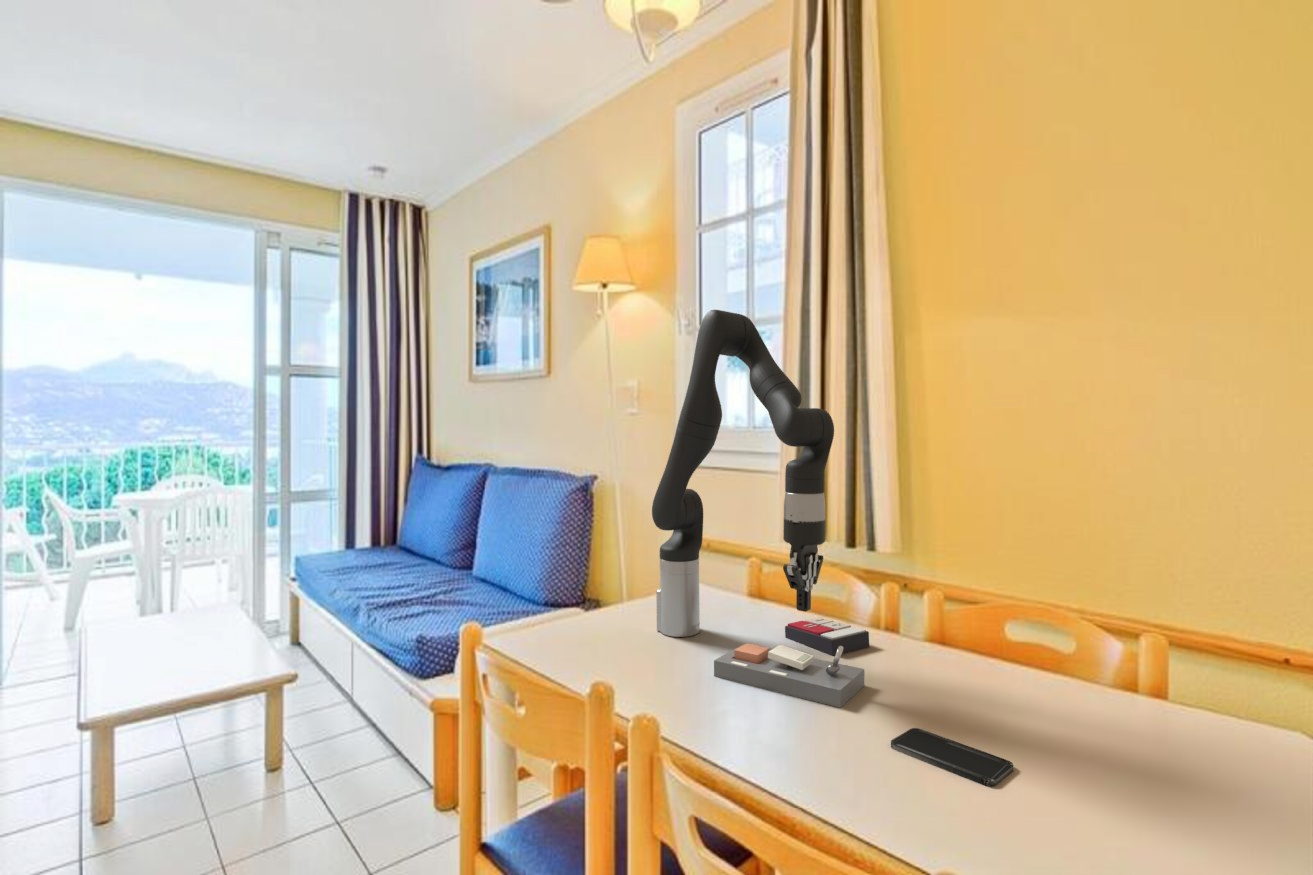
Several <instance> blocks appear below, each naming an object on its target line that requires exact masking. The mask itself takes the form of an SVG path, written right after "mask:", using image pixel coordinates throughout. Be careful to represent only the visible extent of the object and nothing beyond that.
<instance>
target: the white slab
mask: <svg viewBox="0 0 1313 875" xmlns="http://www.w3.org/2000/svg"><path fill="white" fill-rule="evenodd" d="M771 649H772V648H771ZM768 658H769V659H772V660H775V661H778V662H781V663H783V664H786V665H789V666H792V667H795V668H798V669H801V670H803V669H805V668H806V667H807V666H809V665H810V664H812V663H813V662H814V658H815V655H813V654H809V653H806V652H803V651H802V650H801V651H800V650H797V649H795V648H791V647H789V646H786V645H782V644H779V645H777V646H776V647H774V648H773V649H772V650H771V651H769V652H768Z"/></svg>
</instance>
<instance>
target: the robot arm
mask: <svg viewBox="0 0 1313 875" xmlns="http://www.w3.org/2000/svg"><path fill="white" fill-rule="evenodd" d="M701 320H702V321H701V323H700V326H699V329H698V333H697V338H696V344H695V349H694V356H693V361H692V365H691V366H692V367H691V372H690V376H689V381H688V385H687V389H686V394H685V397H684V401H683V404H682V407H681V411H680V414H679V417H678V421H677V424H676V429H675V434H674V438H673V442H672V445H671V449H670V452H669V455H668V458H667V461H666V464H665V468H664V470H663V474H662V476H661V479H660V481H659V484H658V486H657V489H656V492H655V495H654V497H653V501H652V507H651V515H652V521H653V523H654V525H655V526H656V528H658V529H659V530H661V531H672V534H671V536H670V537H669V539H668V540H666V541H665V542H664V543H662V544H661V546H660V548H659V589H657V590H656V597H655V598H656V631H657V632H660V633H661V634H662V635H664V636H669V637H674V638H675V637H677V638H679V637H680V638H685V637H691V636H695V635H697V634H699V633H700V624H701V622H700V551H701V548H702V545H703V536H704V535H703V532H704V505H703V501H702V499H701V496H700V495H699V493H698V492H697V491H696V490H694V489H693V488H688V485H689V482H690V480H691V478H692V476H693V475H694V473H695V472H696V470H697V469H698V467H699V466H700V465H701V464H702V462H703V461H704V460H705V459H706V457H707V456H708V455H709V454H710V452H711V451H712V450H713V448H714V445H715V443H716V442H717V441H716V440H717V438H718V434H719V430H720V428H721V423H722V420H723V410H722V405H721V400H720V397H719V393H718V390H717V385H716V371H717V365H718V361H719V359H720V356H727V357H736V358H737V359H739V360H740V361H742V362H743V363H744V364H745V365H746V366H747V368H748V369H749V384H750V388H751V390H752V391H753V394H754V395H755V396H756V398H757V399H758V400H759V402H760V403H761V404H762V405H763V407H764V408H765V409H766V410H767V412H768V416H769V418H770V422H771V424H772V426H773V430H774V433H775V434H776V436H777V438H778V440H780V442H782V443H783V444H785V445H787V446H789V447H795V448H796V447H800V448H801V447H803V449H802V452H801V454H800V456H799V457H797V458H796V459H795V458H794V459H792V460H789V461H788V462H787V463H786V465H785V473H784V474H785V475H784V476H785V478H784V482H785V484H784V489H785V490H784V500H783V530H782V531H783V535H782V537H783V541H784V542H785V543H787V544H789V545H790V551H789V563H788V564H783V568H782V570H783V572H784V575H785V578H786V579H787V580H786V581H787V582H788V585H789V588H790V589H793V590H795V591H796V603H795V604H796V605H795V606H796V607H795V608H796V610H797V611H799V612H805V613H806V612H808V611H810V610H811V609H812V590H813V588H814V585H817V583H818V579H819V576H820V573H821V569H822V565H823V562H824V555H821V554H819V553H818V552H819V549H818V548H819V547H818V546H819V545H823V544H824V543H825V542H826V499H825V470H826V467H827V463H828V459H829V456H830V452H831V449H832V445H833V440H834V437H835V424H834V421H833V418H832V416H831V414H830V413H829V412H828V411H827V410H825V409H823V408H815V407H814V408H813V407H812V408H811V407H809V408H808V407H806V408H805V407H800V406H801V404H802V394H801V392H800V390H799V389H798V388H797V386H796V385H795V384H794V383H793V382H792V381H791V379H790V378H789V377H788V375H787V374H785V372H784V371H783V370H782V369H781V368H780V367H779V365H778V363H777V362H776V360H775V359H774V357H773V356H772V354H771V353H770V351H769V349H768V347H767V345H766V343H765V341H764V340H763V338H762V337H761V334H760V332H759V331H758V329H757V327H756V326H755V323H753V321H752V320H751V319H750V317H748V316H746V315H744V314H741V313H737V312H736V313H735V312H731V311H725V310H721V309H711V310H709V311H708V312H706V313H705V315H704V316H703V318H702V319H701Z"/></svg>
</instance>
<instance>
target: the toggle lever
mask: <svg viewBox="0 0 1313 875" xmlns="http://www.w3.org/2000/svg"><path fill="white" fill-rule="evenodd" d="M842 652H843V646H839V647H838V650H837V652H836V655H835V656H834V659H833V661H832V662H833V663H832V664H831V665H830V666H829V667H827V669H826V672H827V674H828V675H830V676H833V675H834V674H835V673H837V672H838V671H839V670H840V666H839V665H838V664H839V662H840V659H841V657H842V655H841V654H842Z"/></svg>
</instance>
